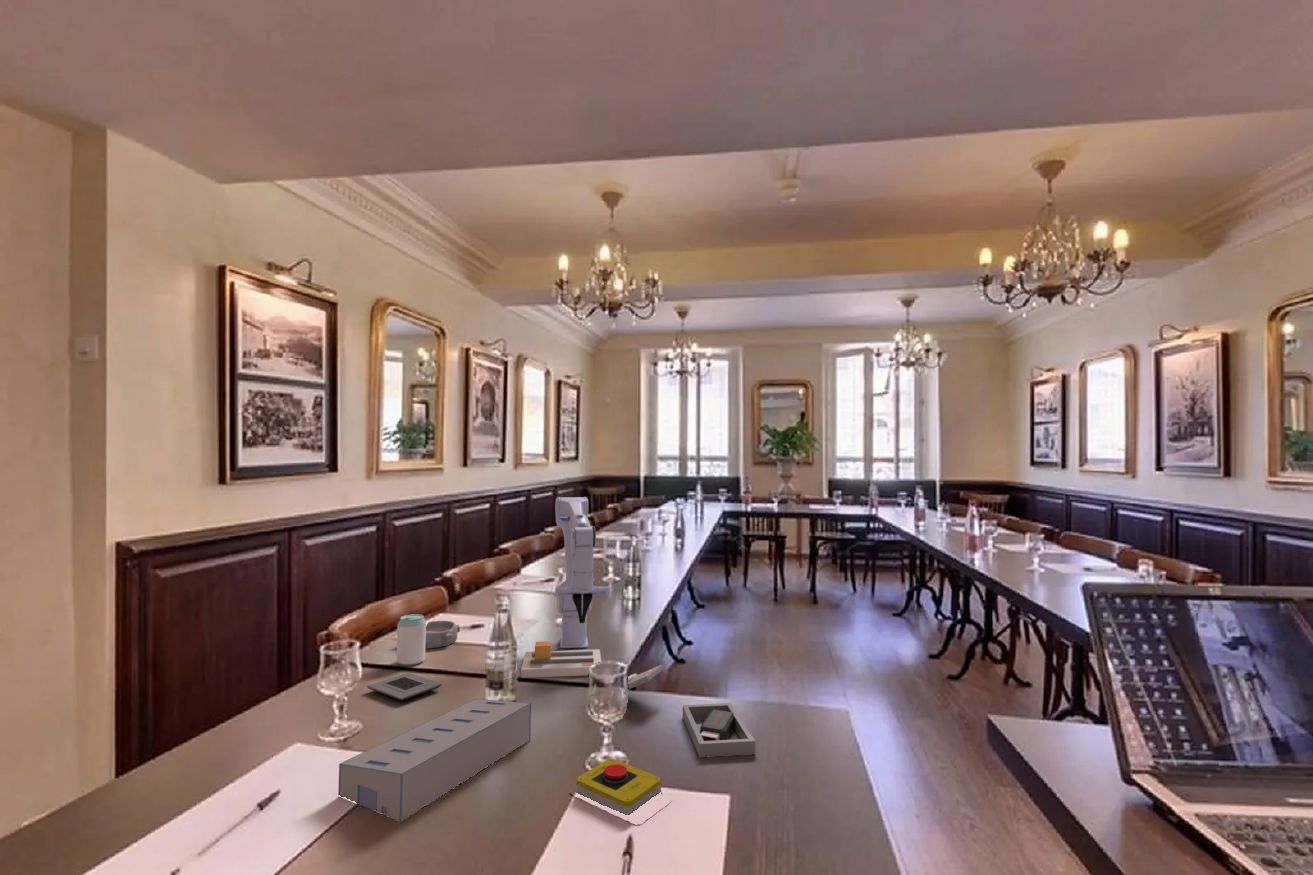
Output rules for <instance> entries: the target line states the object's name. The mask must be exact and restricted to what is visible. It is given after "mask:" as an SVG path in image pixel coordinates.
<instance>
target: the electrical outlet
mask: <svg viewBox="0 0 1313 875" xmlns="http://www.w3.org/2000/svg"><path fill="white" fill-rule="evenodd" d="M442 685H443V683H442V682H438V681H436V680H433V679H431V678H426V677H423V676H420V675H417V674H414V673H412V672H409V671H407V672H404V673H401V674H399V675H395V676H392V677H389V678H387V679H383V680H380V681H377V682H374V683H372V684H368V685H366V687H367V689H370V690H371V691H374V692H377V693H379V694H382V695H385V696H388V697H390V698H392V699H395V700H398V701H401V702H403V701H407V700H409V699H412V698H415V697H417V696H420V695H423V694H425V693H428V692H431V691H434V690H436V689H439V688H440V687H441V686H442Z"/></svg>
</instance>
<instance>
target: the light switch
mask: <svg viewBox="0 0 1313 875" xmlns="http://www.w3.org/2000/svg"><path fill="white" fill-rule="evenodd" d="M663 670H664V666H663V665H662V664H660V665H657V666H655V667H653V668H649V669H648V670H645V671H644V672H640V673H639V674H637V673H633V674H630V675H629V676H627V677H628V687H629V689H628V690H631V689H633V688H636V687H638V686H640V685H642V684H645V683H647V682H649V681H650V680H651V679H653V678H654V677H655V676H657V675H658V674H659V673H660V672H662V671H663Z"/></svg>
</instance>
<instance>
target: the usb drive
mask: <svg viewBox="0 0 1313 875" xmlns="http://www.w3.org/2000/svg"><path fill="white" fill-rule="evenodd" d="M733 714H734V713H733V712H727V711H721V710H712V711H711V712H710V713H709V715H708V716H707V718H704V721H703V722H702V724H701V725H700V727H699V732H700V734H701V736H702V738H703V740H704V741H716V740H729V737H730V736H731V734H732V732H733V730H735V729H734V715H733Z"/></svg>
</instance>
